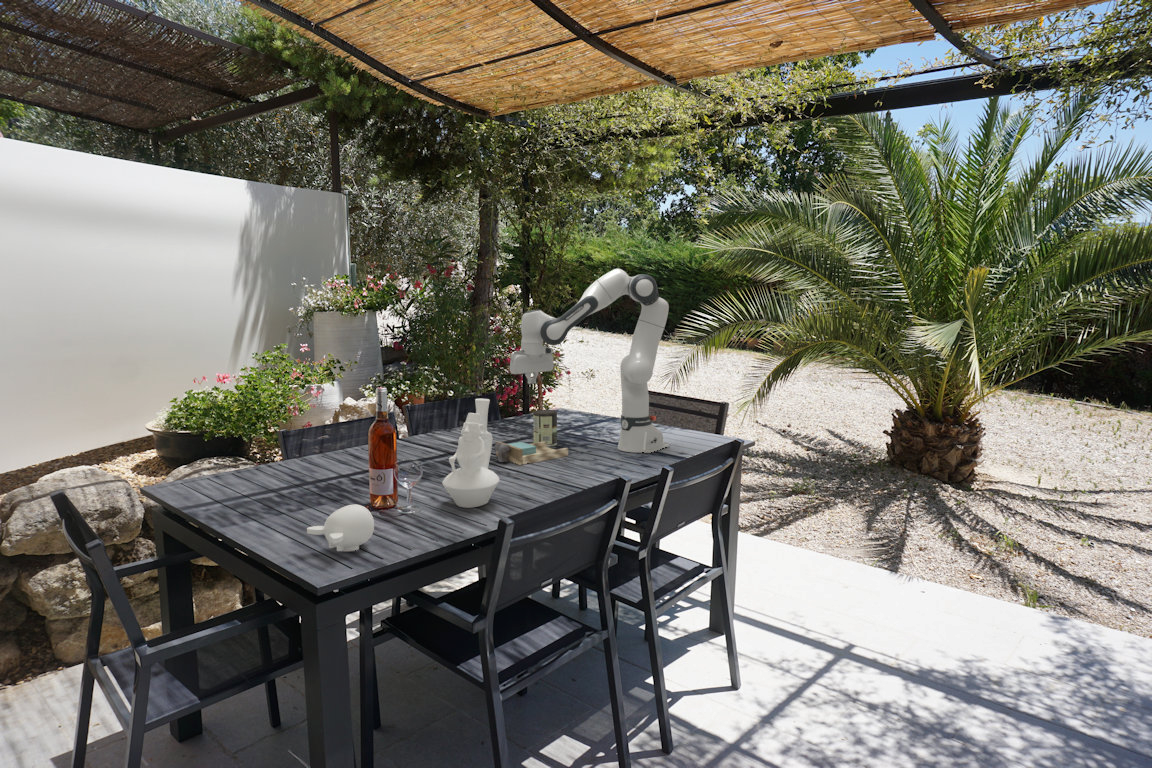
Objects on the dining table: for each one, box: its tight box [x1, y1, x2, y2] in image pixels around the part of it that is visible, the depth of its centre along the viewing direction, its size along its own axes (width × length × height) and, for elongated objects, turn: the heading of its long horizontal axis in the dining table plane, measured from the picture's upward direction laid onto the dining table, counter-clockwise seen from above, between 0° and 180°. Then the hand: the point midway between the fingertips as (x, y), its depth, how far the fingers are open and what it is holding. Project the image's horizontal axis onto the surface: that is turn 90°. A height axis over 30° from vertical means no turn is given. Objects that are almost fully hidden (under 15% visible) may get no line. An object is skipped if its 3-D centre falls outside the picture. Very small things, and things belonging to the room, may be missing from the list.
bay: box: [494, 441, 569, 466], centre depth 282 cm, size 29×16×7 cm, turn 129°
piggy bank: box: [306, 504, 375, 552], centre depth 186 cm, size 12×12×15 cm
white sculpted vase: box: [441, 397, 500, 509], centre depth 224 cm, size 18×22×32 cm
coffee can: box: [532, 409, 558, 448], centre depth 305 cm, size 10×10×14 cm
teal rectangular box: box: [507, 441, 536, 456], centre depth 280 cm, size 8×10×4 cm
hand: (531, 383), depth 294 cm, fingers closed
